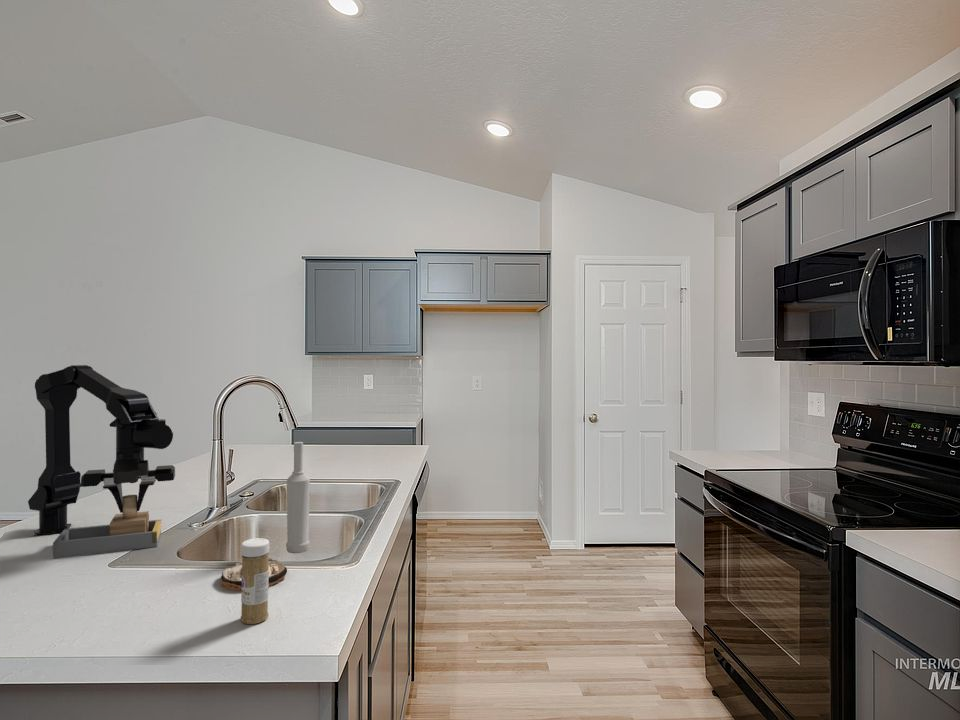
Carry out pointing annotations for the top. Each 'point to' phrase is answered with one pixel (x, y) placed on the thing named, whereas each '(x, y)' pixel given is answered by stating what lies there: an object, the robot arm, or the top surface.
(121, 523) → the tan block with peg
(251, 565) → the sprinkles bottle
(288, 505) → the bottle
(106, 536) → the bay
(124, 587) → the top surface
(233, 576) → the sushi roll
